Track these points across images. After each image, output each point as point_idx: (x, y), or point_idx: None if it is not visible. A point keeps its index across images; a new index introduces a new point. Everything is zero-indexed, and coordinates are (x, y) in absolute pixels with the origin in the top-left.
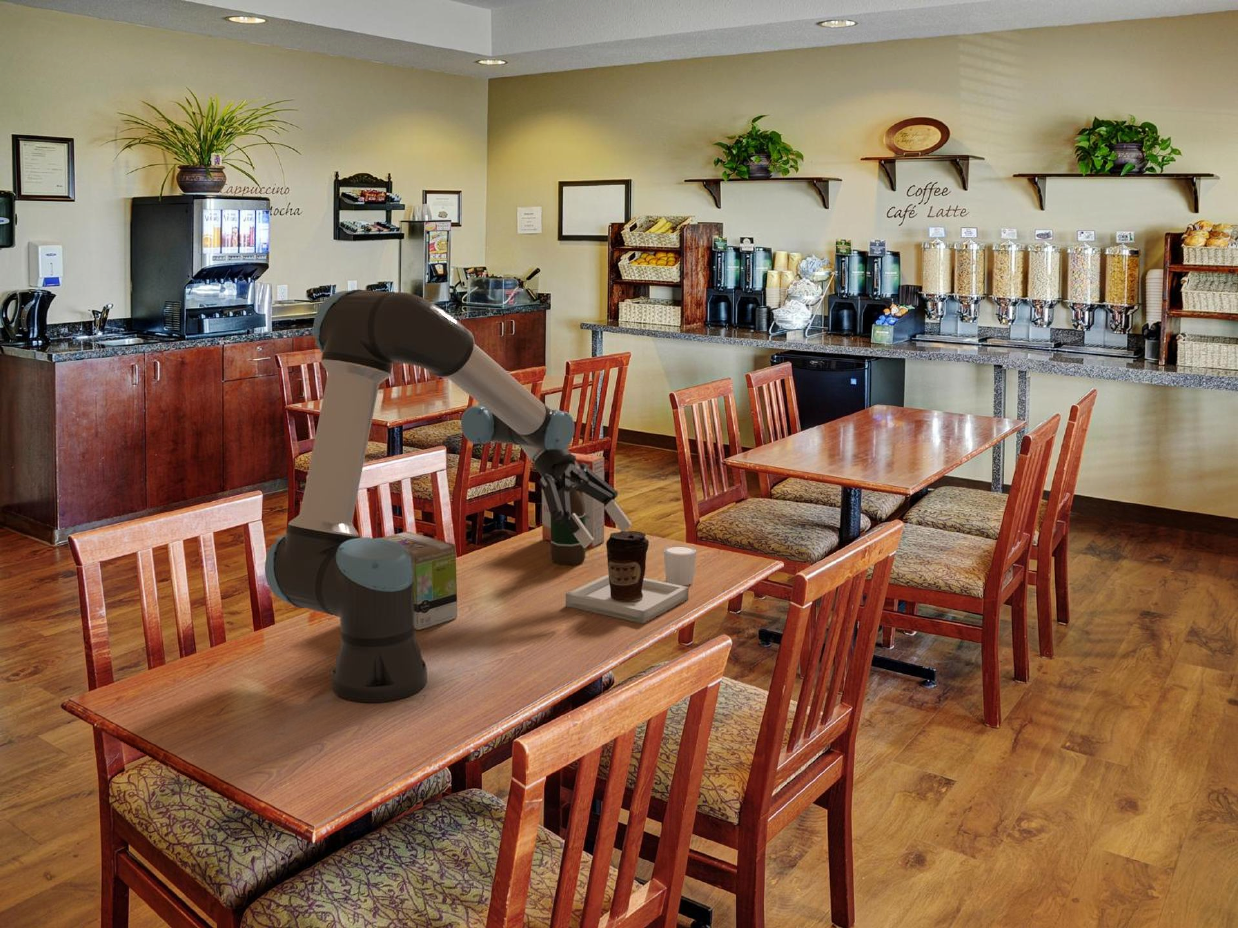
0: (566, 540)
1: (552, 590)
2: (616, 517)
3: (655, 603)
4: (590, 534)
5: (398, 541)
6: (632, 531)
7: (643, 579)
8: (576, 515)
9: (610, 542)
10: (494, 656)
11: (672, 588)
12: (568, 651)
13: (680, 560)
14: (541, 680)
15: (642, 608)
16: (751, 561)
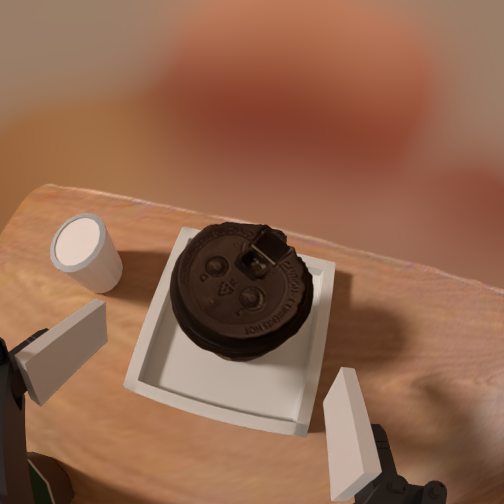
0: (44, 493)
1: (218, 488)
2: (75, 354)
3: None
4: (346, 381)
5: None
6: (186, 273)
7: (156, 313)
8: (362, 460)
9: (292, 325)
10: (486, 393)
11: None
12: (450, 327)
13: (109, 238)
14: (497, 313)
15: (324, 268)
16: (28, 204)
